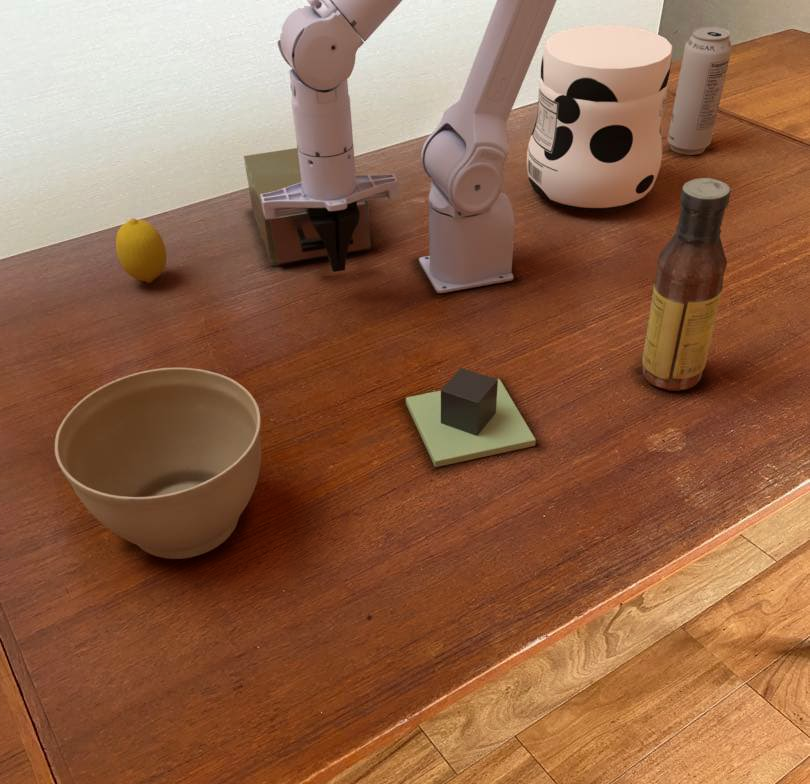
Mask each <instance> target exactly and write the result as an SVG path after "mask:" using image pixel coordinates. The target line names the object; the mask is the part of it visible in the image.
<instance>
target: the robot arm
mask: <svg viewBox="0 0 810 784" xmlns="http://www.w3.org/2000/svg"><path fill="white" fill-rule="evenodd" d="M306 1H307V3H308V4H309V5H305V6H303V7H302V8H301V7H297V8H296V9H294V10H292V12H291V13H290V14H289V15H288V16H287V17H286V19H285V20H284V22H283V24H282V26H281V30H282V31H281V33H280V36H279V39H278V40H277V47H278V51H279V53H280V55H281V57H282V59H283V60H284V62H286V64H287V65H289V67H290V68H291V69H290V70H289V71H288V72H289V79H290V84H289V85H290V91H291V109H292V116H293V124H294V132H295V140H296V141H295V143H296V148H297V149H298V157H299V165H300V173H301V182H300V183H297V184H294V185H291V186H288V187H285V188H283V189H280V190H276V191H273V192H269V193H264V194H260V197H261V203H262V209H263V213H264V216H265V219H266V220H267V219H273V218H275V217H276V216H275V215H279V214H286V213H292V212H298V211H304V210H306V211H307V214H308V216H309V218H310V221H311V223H312V225H313V226H314V228H315V230H316V231H317V233H318V234H319V236H320V238H321V239H322V241H323V243H324V245H325V248H326V251H327V254H328V257H327V259H328V263H329V266H330V269H331V270H332V273H336V272H343V271H345V270H346V264H347V263H346V262H347V255H348V254H347V251H348V247H349V243H350V240H351V237H352V235H353V232H354V230H355V228H356V226H357V224H358V222H359V218H360V211H359V209H358V207H357V202H361V201H367V200H368V201H373V200H378V199H385V198H387V199H388V200H391V201H392V200H397V199H399V198H400V195H399V181H398V178H397V177H396V175H395V174H394V173H387V174H358V175H356V173H355V169H356V161H355V148H354V135H353V122H352V108H351V98H350V94H349V83H348V82H349V81H348V79H349V78H350V77H351V75H352V74H353V70H354V68H355V64H356V55H357V51H358V50H359V49H360V48H361V47H362V46H363V44H364V43H365V42H366V41H367V40H369V38H370V37H371V36H372V35H373V34H374V32H376V30H378V28H379V27H380V26H381V25H382V24H383V22H385V21H386V19H387V18H388V17H389V16H390V15H391V14H392V13H393V12H394V11H395V9H397V7H398V6H399V5H400V4H401V3H402V2H403V0H306ZM557 1H558V0H496V2H495V5H494V7H493V10H492V13H491V15H490V18H489V21H488V24H487V26H486V28H485V31H484V34H483V37H482V38H481V39H482V40H481V41H480V42H481V43H480V45H479V48H478V50H477V52H476V56H475V58H474V61H473V63H472V66H471V68H470V71H469V74H468V77H467V79H466V81H465V85H464V87H463V90H462V93H461V95H460V98H459V100H458V101H456V102H455V103H454V104H452V105H451V106H449V107H447V108H446V109H445V110H444V112H443V114H442V117H441V119H440V122H439V124H438V125H437V127H436V128H435V129H434V130H433V131H432V132H431V133H430V134H429V135H428V136H427V138H426V140H425V141H424V144H423V146H422V148H421V153H420V161H421V166H422V169H423V171H424V173H425V174H426V176H427V177H428V178H430V179H431V180H430V181H431V183H430V184H431V187H430V190H429V193H428V240H429V241H428V243H429V245H428V248H429V250H428V251H429V252H428V254H429V255H426V256H421V257H419V258H418V262H419V265H420V266H421V268H422V270H423V271H424V273H425V275H426V277H427V278H428V280H429V281H430V284H431V285H432V287H433V288H434V291H435V292H436V293H437V294H446V293H451V292H456V291H457V292H458V291H461V290H468V289H473V288H478V287H483V286H489V285H494V284H500V283H501V284H502V283H507V282H511V281H513V280H514V274H513V273H512V271H513V270H512V269H513V255H514V254H513V253H514V242H515V241H514V240H515V216H514V210H513V206H512V203H511V200H510V198H509V197H508V195H507V194H506V193H505V192H502V190H503V186H504V169H505V165H506V162H507V159H508V157H509V155H510V146H509V138H508V129H507V122H508V119H509V117H510V115H511V112H512V109H513V107H514V106H515V103H516V99H517V98H518V95H519V93H520V91H521V88H522V85H523V83H524V81H525V78H526V76H527V73H528V71H529V69H530V67H531V64H532V61H533V59H534V56H535V54H536V52H537V49H538V47H539V44H540V42H541V39H542V37H543V35H544V32H545V30H546V28H547V25H548V22H549V20H550V17H551V15H552V13H553V11H554V8H555V5H556V3H557Z"/></svg>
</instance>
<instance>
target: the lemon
mask: <svg viewBox="0 0 810 784" xmlns="http://www.w3.org/2000/svg"><path fill="white" fill-rule="evenodd" d="M165 245H166V244H165V242H164V240H163V238H162V236H161V234H160V233H159V231H158V230H157V229H156V227H155V226H154V225H152V224H151V223H149V222H147V221H145V220H142V219H137V218H135V217H133V218H132V217H131V218H130V219H129V220H127V222H125V223H124V224H122V225H121V226H120V228H119V229H118V231H117V234H116V237H115V249H116V250H115V251H116V256H117V258H118V261H119V263H120V266H121V267H122V269H123V271H125V273H126V274H127V275H129V276H130V277H131V278H133V279H135V280H137V281H141V282H142V281H143V282H146V283H147V284H150V283H152V282H154V280H155V279H157V278H158V277H159V276H160V275H162V273H163V272H164V270H165V268H166V265H167V250H166V246H165Z"/></svg>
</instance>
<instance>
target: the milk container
mask: <svg viewBox="0 0 810 784" xmlns="http://www.w3.org/2000/svg"><path fill="white" fill-rule="evenodd" d="M672 58H673V45H672V44H671V43H670V42H669V40H668V39H667V38H666V37H664V36H662V35H659V34H658V33H656V32H654V31H650V30H646V29H642V28H638V27H634V26H624V25H615V24H596V25H595V24H592V25H584V26H577V27H572V28H569V29H565V30H562V31H558V32H556V33H555V34H553V35H551V36H550V37H549V38H547V41H546V43H545V45H544V48H543V52H542V57H541V62H540V78H539V81H538V83H539V84H538V99H537V101H538V102H537V113H536V119H535V122H534V125H533V129H532V132H531V134H530V137H529V141H528V144H527V149H526V170H527V178H528V181H529V184H530V186H531V188H532V189H533V190H534V192H535V193H536V194H538V195H539V196H540V197H542V198H543V199H544V200H546V201H547V202H549V203H551V204H554V205H556V206H558V207H561V208H564V209H565V208H566V209H571V210H576V211H579V212H607V211H612V210H620V209H623V208H626V207H628V206H630V205H633V204H636V203H637V202H639V201H641V200H642V199H644V198H645V197H646V196H647V195H648V194H649V193H650V192H651V190H652V188H654V185H655V182H656V181H657V177H658V175H659V172H660V169H661V165H662V160H663V141H662V118H663V112H664V107H665V103H666V99H667V95H668V89H669V80H670V79H669V77H670V73H671V68H672V60H673V59H672Z"/></svg>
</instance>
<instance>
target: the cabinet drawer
mask: <svg viewBox="0 0 810 784" xmlns="http://www.w3.org/2000/svg"><path fill="white" fill-rule="evenodd" d="M357 207H358V209H359V211H360V218H359V222H358V224H357V226H356V228H355V230H354V232H353V235H352V237H351V240H350V243H349V247H348V251H347V252H350V251H356V250H362V249H368V233H367V218H366V203H365V202H364V201H361V202H357ZM275 216H276V217H275V218H273V219H270V225H271V231H272V238H273V244H274V251H275V257H276V261H277V264H280V263H286V262H292V261H297V260H303V259H309V258H315V257H321V256H327V255H328V254H327V251H326V248H325V245H324V243H323V241H322V239H321V238H320V236H319V234H318V233H317V231H316V230H315V228H314V226H313V225H312V223H311V221H310V218H309V216H308V214H307V211H306V210H304V211H298V212H292V213H286V214H279V215H275Z"/></svg>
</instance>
